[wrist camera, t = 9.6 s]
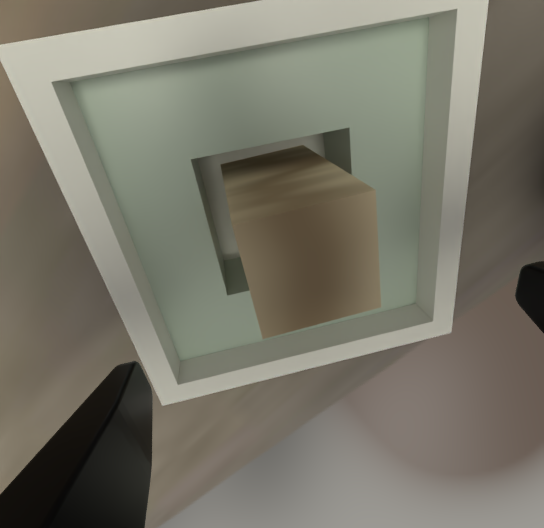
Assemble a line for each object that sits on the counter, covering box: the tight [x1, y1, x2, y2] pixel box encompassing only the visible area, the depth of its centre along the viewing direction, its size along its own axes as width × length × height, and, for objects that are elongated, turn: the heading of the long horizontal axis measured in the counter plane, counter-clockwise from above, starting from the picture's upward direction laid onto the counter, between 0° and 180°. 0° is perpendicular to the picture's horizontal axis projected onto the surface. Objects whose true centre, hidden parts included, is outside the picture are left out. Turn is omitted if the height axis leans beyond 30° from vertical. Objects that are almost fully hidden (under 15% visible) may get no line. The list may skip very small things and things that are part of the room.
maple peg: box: [220, 145, 381, 339], centre depth 14 cm, size 4×4×8 cm
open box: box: [0, 0, 489, 406], centre depth 15 cm, size 14×14×6 cm
